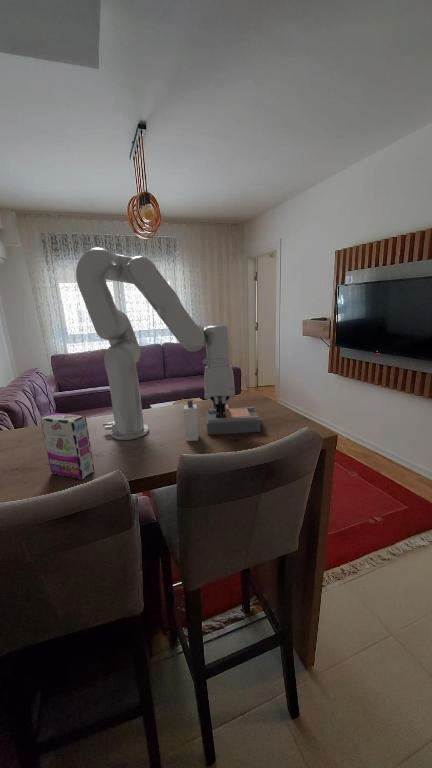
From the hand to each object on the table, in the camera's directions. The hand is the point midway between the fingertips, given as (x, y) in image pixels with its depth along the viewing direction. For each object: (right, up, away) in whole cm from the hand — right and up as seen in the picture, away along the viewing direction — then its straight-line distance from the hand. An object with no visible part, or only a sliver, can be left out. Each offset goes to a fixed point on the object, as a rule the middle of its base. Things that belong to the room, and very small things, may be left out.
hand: (220, 413), depth 111 cm
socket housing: (+4, -5, +1) cm, 7 cm away
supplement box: (0, 0, +20) cm, 20 cm away
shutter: (+6, -1, 0) cm, 6 cm away
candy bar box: (-41, -14, -24) cm, 49 cm away
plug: (-9, -8, -6) cm, 13 cm away
